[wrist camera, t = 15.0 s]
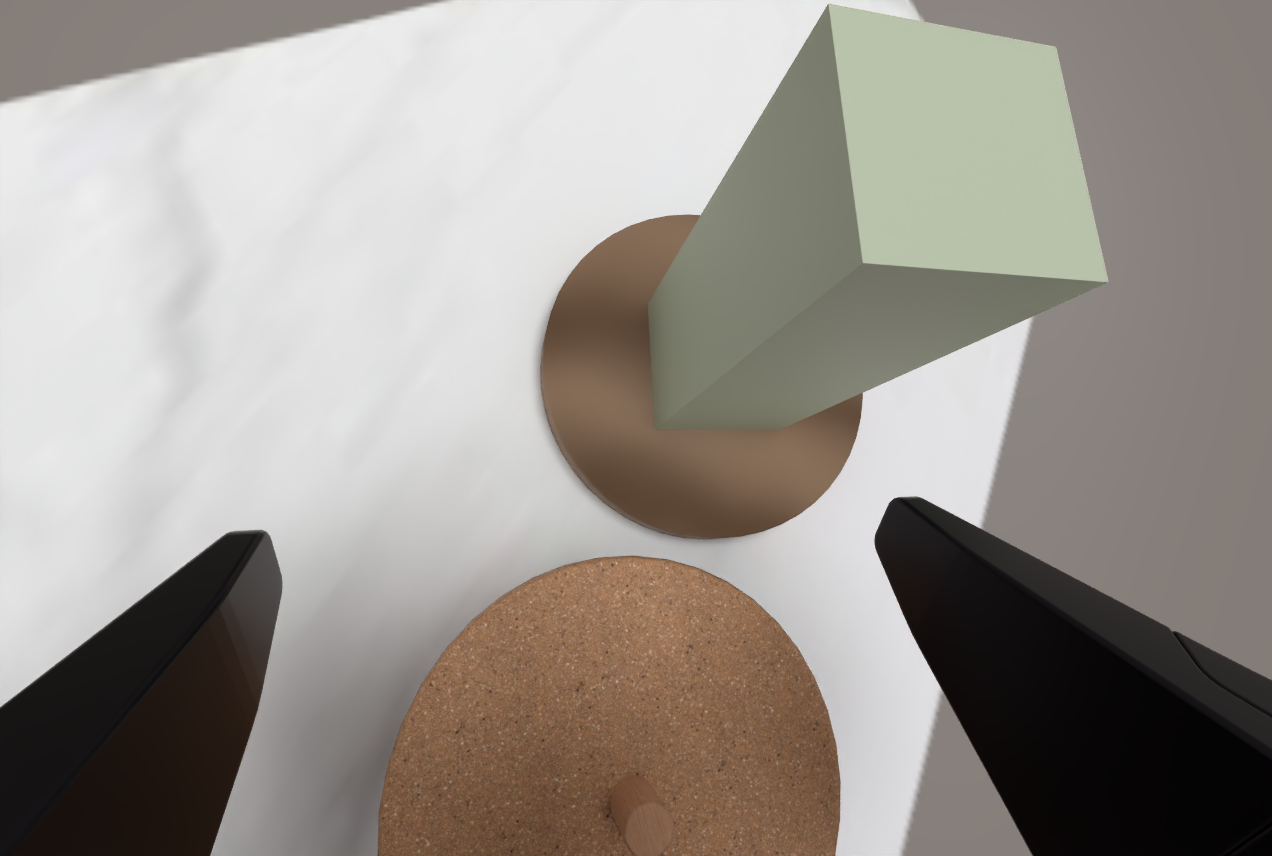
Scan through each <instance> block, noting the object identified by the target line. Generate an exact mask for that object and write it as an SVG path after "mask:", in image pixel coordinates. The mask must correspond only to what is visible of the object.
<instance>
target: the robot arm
mask: <svg viewBox="0 0 1272 856" xmlns="http://www.w3.org/2000/svg"><path fill="white" fill-rule="evenodd" d="M875 548H876V551H877V554H878V556H879V558H880V561H881V563H882V566H883V568H884V570H885V573H886V575H887V577H888V580H889V582H890V584H891V587H892V589H893V591H894V594H895V596H896V598H897V601H898V603H899V605H900V608H901V610H902V612H903V615H904V617H905V619H906V622H907V624H908V626H909V628H910V630H911V633H912V635H913V637H914V639H915V641H916V643H917V644H918V646H919V648H920V650H921V652H922V654H923V656H924V658H925V659H926V661H927V663H928V665H929V667H930V669H931V670H932V672H933V674H934V676H935V678H936V680H937V681H938V683H939V685H940V687H941V689H942V691H943V692H944V694H945V696H946V698H947V700H948V702H949V703H950V705H951V707H952V709H953V711H954V713H955V715H956V716H957V718H958V720H959V721H960V724H961V726H962V727H963V729H964V731H965V733H966V735H967V737H968V738H969V740H970V742H971V744H972V746H973V748H974V749H975V751H976V753H977V755H978V756H979V759H980V760H981V762H982V764H983V766H984V768H985V770H986V772H987V773H988V775H989V777H990V779H991V781H992V783H993V784H994V786H995V788H996V790H997V792H998V794H999V795H1000V797H1001V799H1002V801H1003V803H1004V805H1005V806H1006V808H1007V810H1008V812H1009V814H1010V815H1011V817H1012V819H1013V821H1014V823H1015V825H1016V827H1017V828H1018V830H1019V832H1020V834H1021V836H1022V838H1023V840H1024V841H1025V843H1026V845H1027V847H1028V848H1029V851H1030V852H1031V854H1032V856H1272V680H1270V679H1268V678H1266V677H1264V676H1262V675H1260V674H1258V673H1256V672H1254V671H1252V670H1250V669H1248V668H1246V667H1244V666H1242V665H1240V664H1238V663H1236V662H1235V661H1232V660H1231V659H1229V658H1227V657H1225V656H1223V655H1221V654H1219V653H1217V652H1215V651H1213V650H1211V649H1209V648H1207V647H1205V646H1203V645H1201V644H1200V643H1197V642H1196V641H1194V640H1192V639H1190V638H1188V637H1186V636H1184V635H1182V634H1181V633H1179V632H1176V631H1171V630H1170V628H1168V627H1167V626H1165V625H1163V624H1161V623H1159V622H1157V621H1155V620H1154V619H1152V618H1150V617H1148V616H1146V615H1144V614H1142V613H1140V612H1138V611H1136V610H1134V609H1132V608H1131V607H1128V606H1127V605H1125V604H1123V603H1121V602H1119V601H1117V600H1115V599H1113V598H1112V597H1110V596H1108V595H1106V594H1104V593H1102V592H1100V591H1098V590H1096V589H1094V588H1092V587H1090V586H1089V585H1087V584H1085V583H1083V582H1081V581H1079V580H1077V579H1075V578H1073V577H1071V576H1070V575H1068V574H1066V573H1064V572H1062V571H1060V570H1058V569H1056V568H1054V567H1052V566H1050V565H1049V564H1047V563H1045V562H1043V561H1041V560H1039V559H1037V558H1035V557H1033V556H1031V555H1030V554H1028V553H1026V552H1024V551H1022V550H1020V549H1018V548H1016V547H1014V546H1012V545H1010V544H1009V543H1007V542H1005V541H1003V540H1001V539H999V538H997V537H995V536H993V535H991V534H989V533H987V532H986V531H984V530H982V529H980V528H978V527H976V526H974V525H972V524H970V523H968V522H967V521H965V520H963V519H961V518H959V517H957V516H955V515H953V514H951V513H949V512H948V511H946V510H944V509H942V508H940V507H938V506H936V505H934V504H932V503H930V502H928V501H927V500H925V499H923V498H920V497H898V498H894V499H893V500H892V501H891V502H890V503H889V505H888V507H887V509H886V511H885V514H884V516H883V518H882V520H881V523H880V525H879V527H878V529H877V532H876V534H875ZM281 595H282V575H281V572H280V568H279V565H278V561H277V558H276V554H275V551H274V547H273V544H272V540H271V538H270V536H269V534H268V533H267V532H266V531H263V530H248V531H233V532H229V533H227V534H225V535H224V536H222V537H221V538H219V539H218V540H217V541H216V542H214V543H213V544H212V545H210V546H209V547H208V548H206V549H205V550H204V551H203V552H201V553H200V554H199V555H197V556H196V557H195V558H193V559H192V560H191V561H190V562H188V563H187V564H186V565H184V566H183V567H182V568H180V569H179V570H178V571H177V572H175V573H174V574H173V575H171V576H170V577H169V578H168V579H166V580H165V581H164V582H162V583H161V584H160V585H158V586H157V587H156V588H155V589H153V590H152V591H151V592H149V593H148V594H147V595H145V596H144V597H143V598H142V599H140V600H139V601H138V602H136V603H135V604H134V605H132V606H131V607H130V608H129V609H127V610H126V611H125V612H123V613H122V614H121V615H119V616H118V617H117V618H116V619H114V620H113V621H112V622H110V623H109V624H108V625H106V626H105V627H104V628H103V629H101V630H100V631H99V632H97V633H96V634H95V635H93V636H92V637H91V638H90V639H88V640H87V641H86V642H84V643H83V644H82V645H80V646H79V647H78V648H77V649H75V650H74V651H73V652H71V653H70V654H69V655H68V656H66V657H65V658H64V659H62V660H61V661H60V662H58V663H57V664H56V665H55V666H53V667H52V668H51V669H49V670H48V671H47V672H45V673H44V674H43V675H42V676H40V677H39V678H38V679H36V680H35V681H34V682H32V683H31V684H30V685H29V686H27V687H26V688H25V689H23V690H22V691H21V692H19V693H18V694H17V695H16V696H14V697H13V698H12V699H10V700H9V701H8V702H6V703H5V704H4V705H3V706H1V707H0V856H210V854H211V851H212V848H213V845H214V842H215V839H216V836H217V833H218V830H219V827H220V824H221V821H222V818H223V815H224V812H225V809H226V806H227V803H228V800H229V797H230V794H231V791H232V788H233V785H234V782H235V779H236V776H237V773H238V770H239V767H240V764H241V761H242V758H243V754H244V751H245V748H246V745H247V742H248V739H249V736H250V733H251V730H252V727H253V724H254V720H255V717H256V714H257V710H258V706H259V702H260V698H261V693H262V689H263V684H264V679H265V674H266V669H267V664H268V659H269V654H270V649H271V644H272V639H273V634H274V629H275V625H276V620H277V615H278V610H279V605H280V600H281Z"/></svg>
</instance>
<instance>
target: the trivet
mask: <svg viewBox="0 0 1272 856" xmlns="http://www.w3.org/2000/svg"><path fill="white" fill-rule="evenodd" d="M699 217H700V215H674V216H665V217H660V218H654V219H649V220H646V221H643V222H640V223H637V224H634V225H631V226H629V227H627V228H625V229H623V230H621V231H619V232H617V233H615V234H613V235H611V236H610V237H609V238H607V239H606V240H604V241H603V242H601V243H600V244H598V245H597V246H596V247H595V248H594V249H593V250H591V251H590V252H589V253H588V254H587V255H586V256H585V257H584V258H583V259H582V260H581V261H580V262H579V264H578V265H577V266H576V267H575V269H574V270H573V271H572V272H571V274H570V275H569V276H568V278H567V280H566V282H565V283H564V285H563V287H562V288H561V290H560V292H559V294H558V296H557V299H556V301H555V304H554V306H553V309H552V311H551V314H550V318H549V322H548V326H547V330H546V335H545V339H544V343H543V348H542V358H541V390H542V396H543V401H544V407H545V412H546V415H547V418H548V421H549V424H550V427H551V431H552V433H553V435H554V437H555V439H556V441H557V444H558V446H559V448H560V450H561V452H562V453H563V455H564V457H565V458H566V460H567V461H568V463H569V464H570V466H571V467H572V469H573V471H574V472H575V473H576V474H577V475H578V476H579V478H580V479H581V480H582V481H583V482H584V484H585V485H586V486H587V487H588V488H589V489H590V490H591V491H592V492H593V493H594V494H595V495H597V496H598V497H599V498H600V499H601V500H602V501H603V502H604V503H606V504H607V505H608V506H610V507H611V508H613V509H614V510H616V511H617V512H618V513H620V514H621V515H623V516H625V517H626V518H628V519H630V520H632V521H634V522H636V523H638V524H640V525H642V526H644V527H647V528H650V529H653V530H656V531H658V532H661V533H665V534H669V535H674V536H679V537H683V538H696V539H714V538H728V537H739V536H745V535H749V534H754V533H759V532H762V531H765V530H768V529H770V528H773V527H776V526H778V525H781V524H783V523H785V522H786V521H788V520H790V519H792V518H794V517H796V516H797V515H799V514H800V513H802V512H803V511H804V510H806V509H807V508H808V507H810V506H811V505H812V504H813V503H815V502H816V501H817V500H818V499H819V498H820V497H821V496H822V495H823V494H824V493H825V492H826V491H827V490H828V488H829V487H830V486H831V484H832V483H833V482H834V480H835V479H836V478H837V476H838V475H839V473H840V472H841V470H842V468H843V466H844V465H845V463H846V461H847V459H848V457H849V455H850V453H851V450H852V447H853V444H854V442H855V439H856V436H857V432H858V427H859V423H860V419H861V410H862V399H863V393H861V394H858V395H856V396H854V397H852V398H850V399H847V400H845V401H843V402H841V403H838V404H836V405H834V406H832V407H829V408H827V409H825V410H823V411H821V412H818V413H816V414H814V415H812V416H809V417H807V418H805V419H803V420H801V421H798V422H796V423H794V424H792V425H789V426H787V427H785V428H783V429H780V430H654V413H653V393H652V374H651V354H650V335H649V316H648V302H649V300H650V299H651V297H652V295H653V294H654V292H655V290H656V289H657V287H658V285H659V284H660V282H661V280H662V279H663V277H664V276H665V274H666V272H667V271H668V269H669V267H670V266H671V264H672V262H673V261H674V259H675V257H676V256H677V254H678V252H679V251H680V249H681V247H682V246H683V244H684V242H685V241H686V239H687V237H688V236H689V234H690V232H691V231H692V229H693V227H694V226H695V224H696V222H697V221H698V219H699Z"/></svg>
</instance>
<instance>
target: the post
mask: <svg viewBox="0 0 1272 856" xmlns="http://www.w3.org/2000/svg"><path fill="white" fill-rule="evenodd" d="M1106 283H1108V278H1107V274H1106V269H1105V264H1104V260H1103V255H1102V251H1101V247H1100V242H1099V238H1098V233H1097V229H1096V224H1095V220H1094V215H1093V211H1092V206H1091V202H1090V197H1089V193H1088V188H1087V184H1086V179H1085V175H1084V171H1083V166H1082V161H1081V157H1080V152H1079V148H1078V143H1077V139H1076V134H1075V130H1074V125H1073V121H1072V116H1071V112H1070V107H1069V103H1068V99H1067V94H1066V89H1065V85H1064V81H1063V76H1062V71H1061V67H1060V63H1059V58H1058V54H1057V49H1056V47H1053V46H1048V45H1043V44H1038V43H1032V42H1027V41H1022V40H1017V39H1011V38H1006V37H1001V36H996V35H990V34H985V33H980V32H975V31H969V30H964V29H959V28H953V27H948V26H943V25H938V24H932V23H927V22H922V21H917V20H912V19H906V18H901V17H896V16H890V15H885V14H880V13H875V12H869V11H864V10H859V9H854V8H848V7H843V6H838V5H833V4H828V5H827V7H826V9H825V10H824V12H823V14H822V15H821V17H820V19H819V20H818V22H817V24H816V25H815V27H814V29H813V30H812V32H811V33H810V35H809V37H808V38H807V40H806V42H805V43H804V45H803V47H802V48H801V50H800V52H799V53H798V55H797V57H796V58H795V60H794V62H793V63H792V65H791V67H790V68H789V70H788V72H787V73H786V75H785V77H784V78H783V80H782V82H781V83H780V85H779V87H778V88H777V90H776V92H775V93H774V95H773V96H772V98H771V100H770V101H769V103H768V105H767V106H766V108H765V110H764V111H763V113H762V115H761V116H760V118H759V120H758V121H757V123H756V125H755V126H754V128H753V130H752V131H751V133H750V135H749V136H748V138H747V140H746V141H745V143H744V145H743V146H742V148H741V150H740V151H739V153H738V155H737V156H736V158H735V159H734V161H733V163H732V164H731V166H730V168H729V169H728V171H727V173H726V174H725V176H724V178H723V179H722V181H721V183H720V184H719V186H718V188H717V189H716V191H715V193H714V194H713V196H712V198H711V199H710V201H709V203H708V204H707V206H706V208H705V209H704V211H703V213H702V214H701V216H700V217H699V219H698V221H697V222H696V224H695V226H694V227H693V229H692V231H691V232H690V234H689V236H688V237H687V239H686V241H685V242H684V244H683V246H682V247H681V249H680V251H679V252H678V254H677V256H676V257H675V259H674V261H673V262H672V264H671V266H670V267H669V269H668V271H667V272H666V274H665V276H664V277H663V279H662V280H661V282H660V284H659V285H658V287H657V289H656V290H655V292H654V294H653V295H652V297H651V299H650V300H649V302H648V316H649V335H650V354H651V374H652V393H653V413H654V430H780V429H783V428H785V427H787V426H789V425H792V424H794V423H796V422H798V421H801V420H803V419H805V418H807V417H809V416H812V415H814V414H816V413H818V412H821V411H823V410H825V409H827V408H829V407H832V406H834V405H836V404H838V403H841V402H843V401H845V400H847V399H850V398H852V397H854V396H856V395H858V394H861V393H863V392H865V391H867V390H870V389H872V388H874V387H876V386H878V385H881V384H883V383H885V382H887V381H890V380H892V379H894V378H896V377H899V376H901V375H903V374H905V373H907V372H910V371H912V370H914V369H916V368H919V367H921V366H923V365H925V364H927V363H930V362H932V361H934V360H936V359H939V358H941V357H943V356H945V355H948V354H950V353H952V352H954V351H956V350H959V349H961V348H963V347H965V346H968V345H970V344H972V343H974V342H976V341H979V340H981V339H983V338H985V337H988V336H990V335H992V334H994V333H997V332H999V331H1001V330H1003V329H1005V328H1008V327H1010V326H1012V325H1014V324H1017V323H1019V322H1021V321H1023V320H1025V319H1028V318H1030V317H1032V316H1034V315H1037V314H1039V313H1041V312H1043V311H1046V310H1048V309H1050V308H1052V307H1054V306H1057V305H1059V304H1061V303H1063V302H1066V301H1068V300H1070V299H1072V298H1074V297H1077V296H1079V295H1081V294H1083V293H1086V292H1088V291H1090V290H1092V289H1094V288H1097V287H1099V286H1101V285H1103V284H1106Z"/></svg>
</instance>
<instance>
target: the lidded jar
mask: <svg viewBox="0 0 1272 856" xmlns="http://www.w3.org/2000/svg"><path fill="white" fill-rule="evenodd" d="M839 823H840V773H839V765H838V756H837V747H836V742H835V738H834V734H833V730H832V726H831V722H830V718H829V714H828V710H827V707H826V705H825V702H824V700H823V697H822V695H821V692H820V690H819V687H818V685H817V682H816V680H815V677H814V676H813V674H812V672H811V670H810V669H809V667H808V665H807V663H806V662H805V660H804V658H803V656H802V655H801V653H800V651H799V649H798V648H797V646H796V645H795V644H794V643H793V641H792V640H791V639H790V638H789V636H788V635H787V634H786V632H785V631H784V630H783V629H782V627H781V626H780V625H779V623H778V622H777V621H776V620H775V619H774V618H773V617H772V616H770V615H769V614H768V613H767V612H766V611H765V610H764V609H763V608H762V607H761V606H760V605H759V604H758V603H757V602H756V601H755V600H753V599H752V598H750V597H749V596H748V595H746V594H745V593H743V592H742V591H740V590H739V589H737V588H736V587H734V586H733V585H731V584H730V583H728V582H727V581H725V580H723V579H721V578H718V577H716V576H714V575H712V574H710V573H708V572H706V571H703V570H701V569H699V568H696V567H693V566H689V565H685V564H682V563H678V562H675V561H671V560H667V559H659V558H649V557H640V556H619V557H603V558H595V559H590V560H586V561H581V562H577V563H572V564H568V565H564V566H561V567H559V568H556V569H554V570H551V571H549V572H546V573H544V574H541V575H539V576H536V577H534V578H532V579H530V580H528V581H527V582H525V583H523V584H522V585H520V586H518V587H516V588H515V589H513V590H511V591H510V592H508V593H506V594H505V595H503V596H501V597H500V598H499V599H498V600H496V601H495V602H494V603H493V604H491V605H490V606H489V607H488V608H486V609H485V610H484V611H483V612H482V613H480V614H479V615H478V616H477V617H475V618H474V619H473V620H472V621H471V622H470V623H469V624H468V625H467V626H466V627H465V629H464V630H463V631H462V632H461V633H460V634H459V635H458V636H457V637H456V638H455V639H454V640H453V642H452V643H451V644H450V645H449V646H448V647H447V648H446V649H445V651H444V652H443V654H442V655H441V657H440V658H439V660H438V661H437V662H436V664H435V665H434V667H433V668H432V670H431V671H430V673H429V674H428V676H427V677H426V679H425V680H424V681H423V683H422V684H421V686H420V688H419V690H418V692H417V694H416V696H415V698H414V700H413V702H412V704H411V706H410V709H409V711H408V713H407V715H406V717H405V719H404V721H403V723H402V725H401V727H400V730H399V733H398V736H397V739H396V742H395V745H394V748H393V751H392V754H391V757H390V760H389V763H388V766H387V771H386V776H385V782H384V787H383V793H382V799H381V804H380V810H379V829H378V856H835V852H836V844H837V837H838V830H839Z"/></svg>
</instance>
